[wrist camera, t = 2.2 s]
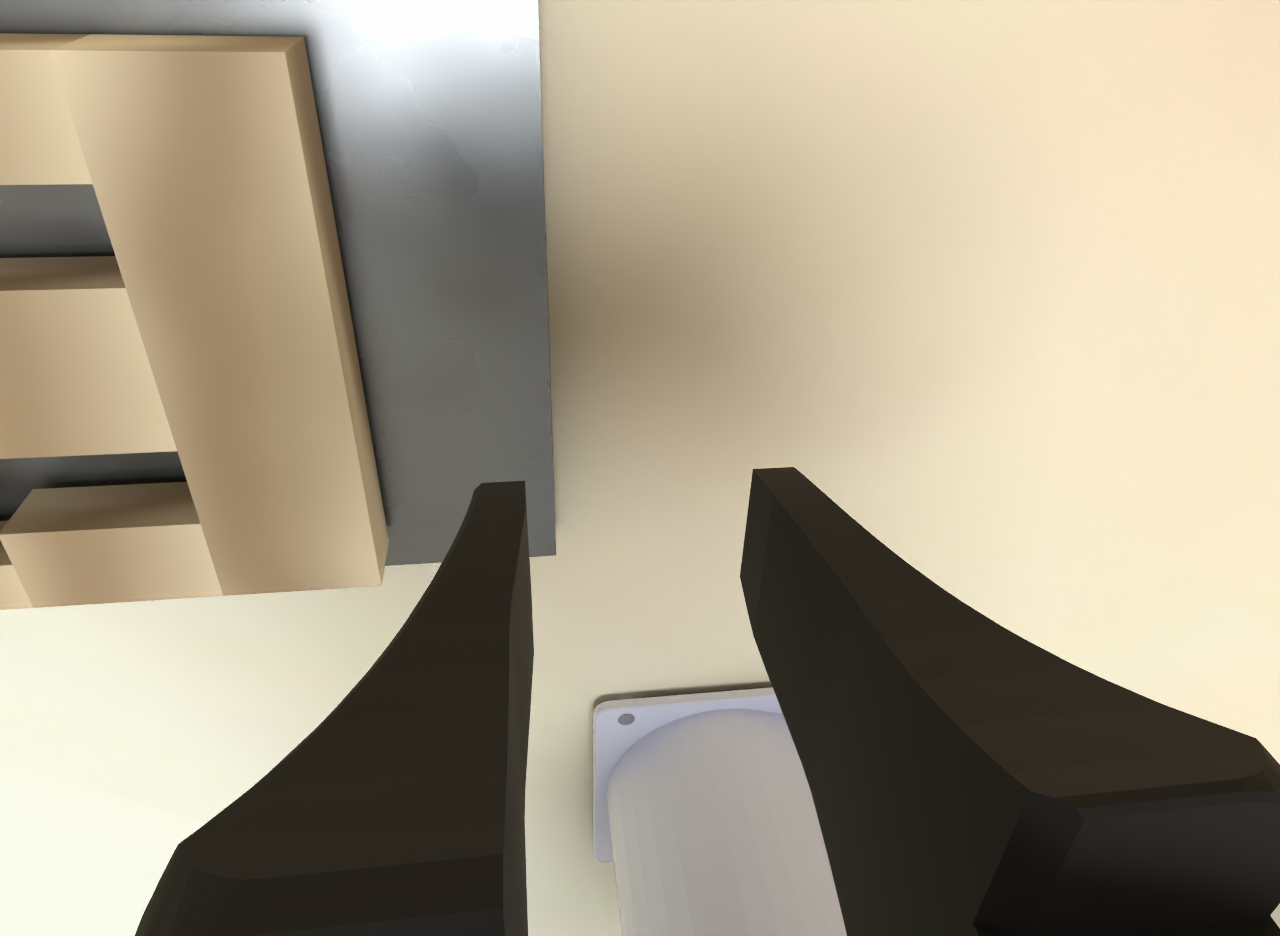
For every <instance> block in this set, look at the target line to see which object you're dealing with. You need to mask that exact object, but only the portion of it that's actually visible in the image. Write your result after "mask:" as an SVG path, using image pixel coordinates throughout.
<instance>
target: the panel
mask: <svg viewBox="0 0 1280 936" xmlns="http://www.w3.org/2000/svg"><path fill="white" fill-rule="evenodd" d="M58 184H93V187H94V190H95V193H96V196H97V199H98V203H99V206H100V209H101V212H102V215H103V218H104V222H105V225H106V228H107V231H108V234H109V237H110V240H111V244H112V247H113V250H114V253H115V256H94V257H38V258H0V459H12V458H35V457H58V456H80V455H103V454H126V453H148V452H171V451H178V455H179V458H180V461H181V464H182V467H183V470H184V473H185V477H186V480H187V482H172V483H151V484H131V485H110V486H89V487H68V488H48V489H32V491H31V492H30V493H29V495H28V496H27V497H26V499H25V500H24V501H23V503H22V504H21V505H20V506H19V508H18V509H17V510H16V512H15V513H14V514H13V516H12V517H11V518H10V520H7V521H0V610H6V609H22V608H37V607H53V606H69V605H84V604H100V603H116V602H132V601H147V600H163V599H179V598H194V597H210V596H226V595H241V594H257V593H273V592H289V591H304V590H320V589H336V588H351V587H367V586H381V585H382V579H383V573H384V567H385V561H386V555H387V550H388V544H389V539H388V533H387V527H386V521H385V515H384V509H383V503H382V497H381V491H380V485H379V479H378V473H377V468H376V462H375V456H374V450H373V444H372V438H371V432H370V426H369V420H368V414H367V408H366V402H365V396H364V390H363V384H362V378H361V373H360V367H359V361H358V355H357V349H356V343H355V337H354V331H353V325H352V319H351V313H350V307H349V301H348V295H347V289H346V283H345V278H344V272H343V266H342V260H341V254H340V248H339V242H338V236H337V230H336V224H335V218H334V212H333V206H332V200H331V194H330V188H329V183H328V177H327V171H326V165H325V159H324V153H323V147H322V141H321V135H320V129H319V123H318V117H317V111H316V105H315V99H314V93H313V88H312V82H311V76H310V70H309V64H308V58H307V52H306V46H305V40H304V37H287V36H199V35H110V34H21V33H0V185H58Z"/></svg>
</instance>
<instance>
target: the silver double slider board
mask: <svg viewBox="0 0 1280 936" xmlns="http://www.w3.org/2000/svg"><path fill="white" fill-rule="evenodd" d="M0 33H21V34H110V35H199V36H287V37H304V40H305V46H306V52H307V58H308V64H309V70H310V76H311V82H312V88H313V93H314V99H315V105H316V111H317V117H318V123H319V129H320V135H321V141H322V147H323V153H324V159H325V165H326V171H327V177H328V183H329V188H330V194H331V200H332V206H333V212H334V218H335V224H336V230H337V236H338V242H339V248H340V254H341V260H342V266H343V272H344V278H345V283H346V289H347V295H348V301H349V307H350V313H351V319H352V325H353V331H354V337H355V343H356V349H357V355H358V361H359V367H360V373H361V378H362V384H363V390H364V396H365V402H366V408H367V414H368V420H369V426H370V432H371V438H372V444H373V450H374V456H375V462H376V468H377V473H378V479H379V485H380V491H381V497H382V503H383V509H384V515H385V521H386V527H387V533H388V539H389V544H388V550H387V555H386V561H385V566H388V565H404V564H421V563H437V562H443V560H444V558H445V556H446V555H447V553H448V551H449V549H450V547H451V545H452V543H453V541H454V539H455V537H456V535H457V533H458V531H459V529H460V527H461V525H462V522H463V520H464V518H465V515H466V513H467V510H468V508H469V505H470V502H471V499H472V496H473V492H474V490H475V489H476V488H477V487H478V486H479V485H480V484H481V483H488V482H508V481H525V488H526V506H527V524H528V543H529V557H536V556H552V555H556V540H555V510H554V479H553V448H552V418H551V387H550V356H549V326H548V295H547V264H546V233H545V203H544V172H543V141H542V111H541V80H540V49H539V19H538V0H0ZM94 256H115V253H114V250H113V247H112V244H111V240H110V237H109V234H108V231H107V228H106V225H105V222H104V218H103V215H102V212H101V209H100V206H99V203H98V199H97V196H96V193H95V190H94V187H93V184H58V185H0V258H38V257H94ZM172 482H187V480H186V477H185V473H184V470H183V467H182V464H181V461H180V458H179V455H178V451H171V452H148V453H126V454H103V455H80V456H58V457H35V458H12V459H0V521H7V520H10V518H11V517H12V516H13V514H14V513H15V512H16V510H17V509H18V508H19V506H20V505H21V504H22V503H23V501H24V500H25V499H26V497H27V496H28V495H29V493H30V492H31V491H32V489H48V488H68V487H89V486H110V485H131V484H151V483H172Z"/></svg>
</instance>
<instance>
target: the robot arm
mask: <svg viewBox="0 0 1280 936" xmlns="http://www.w3.org/2000/svg"><path fill="white" fill-rule="evenodd" d="M740 578H741V583H742V588H743V592H744V597H745V601H746V606H747V610H748V614H749V619H750V623H751V627H752V631H753V635H754V638H755V641H756V644H757V646H758V649H759V652H760V655H761V657H762V660H763V663H764V665H765V668H766V671H767V673H768V676H769V679H770V681H771V684H772V687H770V688H758V689H746V690H733V691H721V692H709V693H697V694H685V695H672V696H660V697H648V698H636V699H624V700H612V701H605V702H602V703H601V704H599V705H597V706H596V707H595V709H594V711H593V849H594V856H595V858H597V859H598V860H600V861H603V862H609V861H614V866H615V874H616V883H617V892H618V901H619V910H620V919H621V928H622V936H1280V929H1279V927H1278V926H1277V924H1276V923H1275V922H1274V920H1273V919H1272V918H1271V916H1270V915H1271V913H1272V912H1273V911H1274V910H1275V908H1276V907H1277V906H1278V905H1279V903H1280V765H1279V763H1278V762H1277V761H1276V760H1275V759H1274V758H1273V757H1272V755H1271V754H1270V753H1269V752H1268V751H1267V750H1266V749H1265V748H1264V746H1263V745H1262V744H1261V743H1260V742H1259V741H1258V740H1257V739H1256V738H1253V737H1251V736H1248V735H1245V734H1242V733H1240V732H1237V731H1234V730H1231V729H1229V728H1226V727H1223V726H1220V725H1218V724H1215V723H1212V722H1209V721H1207V720H1204V719H1201V718H1198V717H1196V716H1193V715H1190V714H1187V713H1185V712H1182V711H1179V710H1176V709H1174V708H1171V707H1168V706H1166V705H1163V704H1161V703H1158V702H1156V701H1153V700H1151V699H1149V698H1146V697H1144V696H1142V695H1139V694H1137V693H1135V692H1132V691H1130V690H1128V689H1125V688H1123V687H1121V686H1118V685H1116V684H1114V683H1111V682H1109V681H1107V680H1105V679H1103V678H1100V677H1098V676H1096V675H1094V674H1092V673H1090V672H1088V671H1086V670H1083V669H1081V668H1079V667H1077V666H1075V665H1073V664H1071V663H1069V662H1067V661H1065V660H1063V659H1061V658H1059V657H1057V656H1055V655H1053V654H1052V653H1050V652H1048V651H1046V650H1044V649H1042V648H1040V647H1038V646H1036V645H1034V644H1032V643H1030V642H1029V641H1027V640H1025V639H1023V638H1021V637H1020V636H1018V635H1016V634H1014V633H1012V632H1011V631H1009V630H1007V629H1005V628H1004V627H1002V626H1000V625H999V624H997V623H995V622H994V621H992V620H991V619H989V618H987V617H986V616H984V615H982V614H981V613H979V612H978V611H976V610H974V609H973V608H971V607H970V606H968V605H966V604H965V603H963V602H962V601H960V600H959V599H957V598H956V597H954V596H953V595H951V594H950V593H948V592H947V591H945V590H944V589H942V588H941V587H939V586H938V585H937V584H935V583H934V582H933V581H931V580H930V579H928V578H927V577H926V576H924V575H923V574H922V573H920V572H919V571H918V570H916V569H915V568H913V567H912V566H911V565H909V564H908V563H907V562H905V561H904V560H903V559H902V558H900V557H899V556H898V555H896V554H895V553H894V552H893V551H891V550H890V549H889V548H888V547H886V546H885V545H884V544H883V543H881V542H880V541H879V540H878V539H876V538H875V537H874V536H873V535H872V534H870V533H869V532H868V531H867V530H866V529H864V528H863V527H862V526H861V525H860V524H859V523H857V522H856V521H855V520H854V519H853V518H852V517H850V516H849V515H848V514H847V513H846V512H845V511H844V510H842V509H841V508H840V507H839V506H838V505H837V504H836V503H834V502H833V501H832V500H831V499H830V498H829V497H828V496H826V495H825V494H824V493H823V492H822V491H821V490H820V489H819V488H817V487H816V486H815V485H814V484H813V483H812V482H811V481H810V480H808V479H807V478H806V477H805V476H804V475H803V474H801V473H800V472H799V471H798V470H797V469H795V468H794V467H787V468H767V469H753V474H752V482H751V490H750V498H749V507H748V515H747V523H746V531H745V540H744V548H743V556H742V564H741V573H740ZM533 656H534V645H533V622H532V599H531V579H530V561H529V543H528V524H527V506H526V488H525V481H508V482H488V483H481V484H480V485H479V486H478V487H477V488H476V489H475V490H474V492H473V496H472V499H471V502H470V505H469V508H468V510H467V513H466V515H465V518H464V520H463V522H462V525H461V527H460V529H459V531H458V533H457V535H456V537H455V539H454V541H453V543H452V545H451V547H450V549H449V551H448V553H447V555H446V556H445V558H444V560H443V562H442V564H441V566H440V568H439V569H438V571H437V573H436V575H435V577H434V578H433V580H432V582H431V583H430V585H429V587H428V588H427V590H426V591H425V593H424V594H423V596H422V597H421V599H420V601H419V602H418V604H417V605H416V607H415V608H414V610H413V611H412V613H411V615H410V616H409V618H408V619H407V621H406V622H405V624H404V625H403V626H402V628H401V629H400V631H399V632H398V633H397V635H396V636H395V638H394V639H393V640H392V642H391V643H390V644H389V646H388V647H387V648H386V650H385V651H384V652H383V653H382V655H381V656H380V657H379V658H378V660H377V661H376V662H375V663H374V665H373V666H372V667H371V668H370V670H369V671H368V672H367V673H366V674H365V676H364V677H363V678H362V679H361V680H360V681H359V682H358V684H357V685H356V686H355V687H354V688H353V689H352V690H351V691H350V693H349V694H348V695H347V696H346V697H345V698H344V699H343V700H342V702H341V703H340V704H339V705H338V706H337V707H336V708H335V709H334V710H333V711H332V712H331V713H330V715H329V716H328V717H327V718H326V719H325V720H324V721H323V722H322V723H321V724H320V725H319V726H318V727H317V728H316V729H315V730H314V731H313V732H312V733H311V734H310V735H308V736H307V737H306V738H305V739H304V740H303V741H302V742H301V743H300V744H299V745H298V746H297V747H296V748H295V749H294V750H292V751H291V752H290V753H289V754H288V755H287V756H286V757H285V758H284V759H283V760H282V761H281V762H280V763H279V764H277V765H276V766H275V767H274V768H273V769H272V770H271V771H270V772H269V773H268V774H267V775H266V776H265V777H263V778H262V779H261V780H260V781H259V782H258V783H256V784H255V785H254V786H253V787H252V788H251V789H249V790H248V791H247V792H246V793H244V794H243V795H242V796H241V797H239V798H238V799H237V800H235V801H234V802H233V803H232V804H230V805H229V806H228V807H227V808H225V809H224V810H223V811H221V812H220V813H219V814H218V815H216V816H215V817H214V818H212V819H211V820H210V821H209V822H207V823H206V824H205V825H204V826H202V827H201V828H200V829H198V830H197V831H196V832H194V833H193V834H192V835H190V836H189V837H188V838H186V839H185V840H184V841H182V842H181V843H180V844H178V846H177V848H176V850H175V851H174V853H173V855H172V857H171V859H170V861H169V863H168V865H167V867H166V869H165V871H164V873H163V875H162V877H161V879H160V881H159V883H158V885H157V887H156V889H155V891H154V893H153V896H152V898H151V900H150V902H149V904H148V906H147V908H146V910H145V912H144V914H143V916H142V919H141V921H140V924H139V926H138V929H137V932H136V934H135V936H528V921H527V890H526V857H525V823H524V815H525V782H526V767H527V751H528V736H529V720H530V705H531V689H532V673H533ZM623 714H627V715H623Z"/></svg>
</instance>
